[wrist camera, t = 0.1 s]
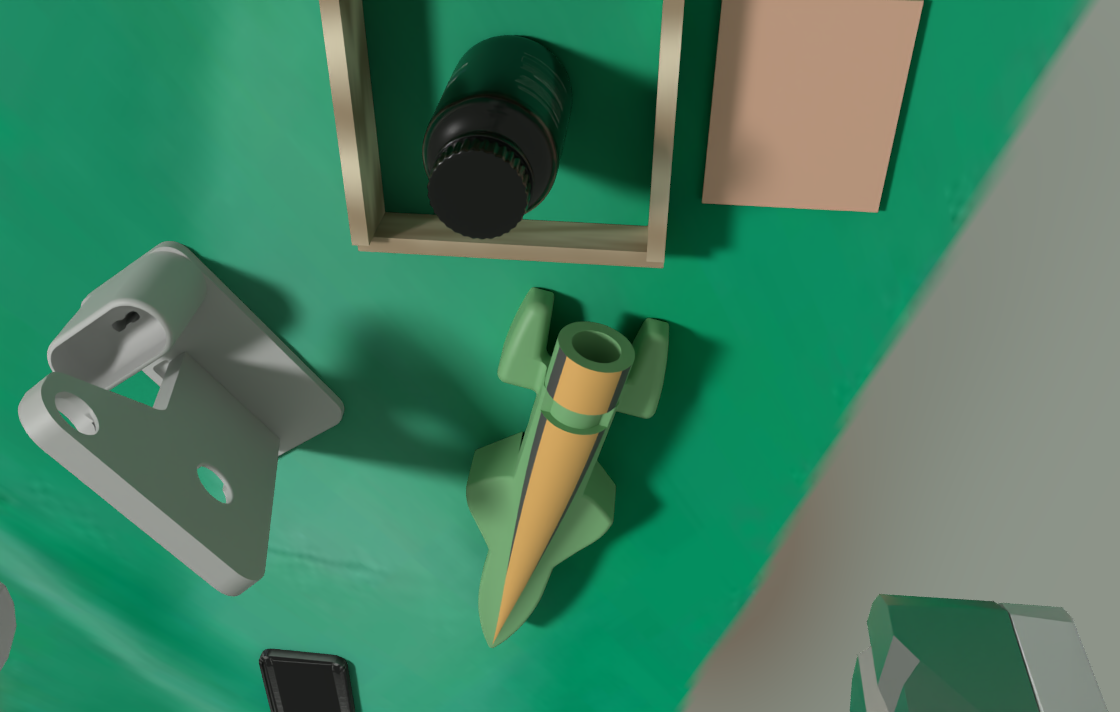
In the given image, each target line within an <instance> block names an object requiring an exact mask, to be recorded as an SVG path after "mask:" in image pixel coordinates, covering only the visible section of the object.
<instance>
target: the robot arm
mask: <svg viewBox="0 0 1120 712" xmlns="http://www.w3.org/2000/svg"><path fill="white" fill-rule="evenodd" d="M867 625H868V630H869V636H870V643H871V646H870V647H869V648H868V649H866V650H864V651H863V652H861V653H860V654H858V657H857V661H856V665H855V670H854V674H853V678H852V688H851V702H850V712H1108V710H1107V707H1106V705H1105V702H1104V700H1103V697H1102V694H1101V692H1100V689H1099V686H1098V684H1097V681H1096V679H1095V676H1094V673H1093V671H1092V668H1091V666H1090V663H1089V660H1088V658H1087V655H1086V653H1085V650H1084V647H1083V645H1082V642H1081V639H1080V637H1079V634H1078V632H1077V629H1076V626H1075V624H1074V621H1073V618H1072V617H1071V616H1070V615H1069V614H1068V613H1067V612H1066V611H1065V610H1064V609H1063V608H1062V607H1050V606H1036V605H1023V604H1010V603H999V604H997V603H995V602H994V601H979V600H963V599H948V598H931V597H916V596H901V595H885V594H879V595H878V597H877V598H876V599H875V600H874V602H873V604H872V607H871V610H870V614H869V617H868V620H867ZM15 629H16V620H15V610H14V603H13V601H12V599H11V596H10V594H9V592H8V590H7V588H6V586H5V585H4V584H2V583H1V582H0V670H1V669H2V667H3V665H4V664H5V662H6V660H7V659H8V656H9V652H10V649H11V645H12V641H13V637H14V633H15Z"/></svg>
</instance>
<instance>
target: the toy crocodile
mask: <svg viewBox="0 0 1120 712" xmlns="http://www.w3.org/2000/svg"><path fill="white" fill-rule="evenodd" d="M553 303H554V294H553V293H552V292H549V291H546V290H542V289H538V288H531V289H530V290H529V292H528V293H527V295H526V297H525V299H524V300H523V302H522V304H521V306H520V308H519V309H518V311H517V313H516V315H515V318H514V320H513V322H512V324H511V327H510V329H509V332H508V334H507V337H506V340H505V343H504V346H503V350H502V355H501V359H500V363H499V367H498V377H499V378H500V380H501V381H503V382H505V383H509V384H513V385H516V386H520V387H524V388H528V389H532V390H534V391H535V392H536V394H537V396H536V399H535V402H534V405H533V409H532V412H531V415H530V420H529V423H528V426H527V428H526V431H525V435H524V438H523V441H522V444H521V447H520V443H521V438H522V433H523V432H520V433H518V434H515V435H512V436H510V437H507V438H505V439H502V440H500V441H497V442H495V443H492V444H490V445H487V446H485V447H482V448H480V449H477V450H475V453H474V457H473V461H472V465H471V469H470V473H469V477H468V481H467V486H466V498H467V503H468V507H469V509H470V512H471V514H472V516H473V517H474V519H475V521H476V523H477V525H478V527H479V529H480V531H481V533H482V535H483V537H484V539H485V542H486V544H487V546H488V548H489V551H488V554H487V557H486V560H485V564H484V568H483V572H482V577H481V582H480V588H479V599H478V605H479V616H480V622H481V626H482V630H483V633H484V636H485V639H486V641H487V644H488V646H489V647H490V648H494V647H496V646H497V645H499V644H501V643H502V642H503V641H505V640H506V639H507V638H509V637H510V636H511V635H512V634H513V633H514V632H516V631H517V630H518V629H519V628H520V627H521V626H522V624H523V623H524V622H525V621H526V620H527V619H528V617H529V616H530V615H531V613H532V612H533V611H534V609H535V607H536V606H537V604H538V602H539V601H540V599H541V597H542V595H543V592H544V590H545V587H546V585H547V582H548V580H549V577H550V575H551V572H552V570H553V568H554V567H555V566H556V565H558V564H559V563H561V562H562V561H564V560H565V559H567V558H568V557H570V556H572V555H573V554H575V553H576V552H578V551H580V550H581V549H583V548H585V547H587V546H588V545H590V544H592V543H593V542H595V541H596V540H598V539H599V538H600V537H602V536H603V535H604V534H605V533H606V532H607V530H608V529H609V528H610V526H611V525H612V523H613V520H614V507H615V494H616V485H615V484H614V482H613V481H612V480H611V478H610V477H609V476H608V474H607V473H606V472H605V470H604V469H603V468H602V466H601V465H600V463H599V462H598V461H597V458H598V456H599V453H600V451H601V448H602V446H603V443H604V441H605V438H606V436H607V433H608V431H609V428H610V426H611V423H612V420H613V418H614V415H615V413H616V411H617V412H621V413H625V414H629V415H633V416H637V417H641V418H650V417H652V416H653V415H654V414H655V412H656V409H657V406H658V402H659V399H660V395H661V391H662V387H663V382H664V376H665V370H666V364H667V356H668V345H669V324H668V323H667V322H663V321H659V320H655V319H651V318H647V319H646V320H645V321H644V322H643V324H642V326H641V328H640V330H639V332H638V334H637V335H636V337H635V339H634V341H633V343H632V345H631V343H630V342H629V341H628V339H627V338H626V337H624V336H623V335H622V334H621V333H619V332H618V331H616V330H614V329H612V328H610V327H608V326H605V325H602V324H599V323H594V322H575V323H571V324H568V325H567V326H565V327H564V328H562V330H561V331H560V333H559V335H558V338H557V341H556V345H555V348H554V351H553V354H552V357H551V356H550V355H549V354H548V352H547V349H546V347H547V341H548V335H549V330H550V323H551V317H552V310H553ZM519 448H520V451H519Z"/></svg>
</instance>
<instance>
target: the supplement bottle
mask: <svg viewBox="0 0 1120 712" xmlns="http://www.w3.org/2000/svg"><path fill="white" fill-rule="evenodd" d="M571 108H572V88H571V83H570V80H569V77H568V75H567V72H566V71H565V69H564V67H563V65H562V64H561V62H560V61H559V60H558V59H557V57H556V56H555V55H554V54H553V53H552V52H551V51H549V50H548V49H547V48H545V47H544V46H543V45H541V44H539V43H537V42H535V41H533V40H531V39H527V38H524V37H520V36H512V35H504V36H496V37H492V38H489V39H486V40H483V41H481V42H479V43H478V44H476V45H475V46H473V47H472V48H471V49H469V50H468V51H467V52H466V53H465V54H464V56H463V57H462V58H461V59H460V61H459V63H458V64H457V66H456V68H455V70H454V72H453V74H452V76H451V78H450V80H449V82H448V84H447V86H446V88H445V91H444V93H443V95H442V97H441V99H440V101H439V103H438V106H437V108H436V110H435V112H434V114H433V116H432V118H431V120H430V123H429V125H428V127H427V130H426V133H425V136H424V140H423V147H422V157H423V164H424V168H425V172H426V174H427V177H428V179H429V182H428V185H427V188H428V198H429V199H430V205H431V207H433V210H434V213H435V214H436V215H437V216H438V218H439V220H440V221H441V222H443V223H444V224H445V225H446V227H448V228H450V229H452V230H453V231H454V232H455V233H460V234H461V235H462V236H465V237H466V236H467V237H470V238H472V239H476V238H479V239H482V240H483V239H486V238H488V239H493V238H494V237H501V236H502V235H503V234H505V233H509V232H510V230H511V229H513V228H515V227H516V226H517V224H518V223H519V222H520V221H521V220H522V218H523V215H524V214H526V213H528V212H529V211H531V210H532V209H534V208H535V207H537V206H538V205H539V204H540V203H541V202H542V201H543V200H544V199H545V197H546V196H547V195H548V193H549V192H550V190H551V188H552V186H553V184H554V182H555V179H556V175H557V171H558V168H559V163H560V159H561V154H562V150H563V145H564V141H565V137H566V132H567V128H568V123H569V119H570V113H571Z"/></svg>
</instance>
